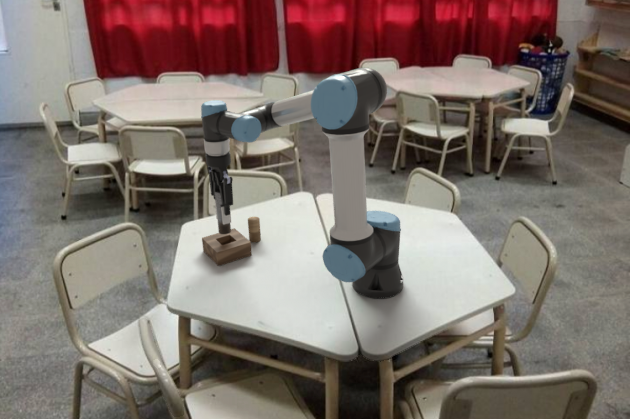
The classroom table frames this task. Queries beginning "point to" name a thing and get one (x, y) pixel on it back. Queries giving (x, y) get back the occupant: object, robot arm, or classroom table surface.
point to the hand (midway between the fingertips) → (223, 220)
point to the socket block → (226, 247)
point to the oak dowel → (254, 229)
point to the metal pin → (226, 227)
